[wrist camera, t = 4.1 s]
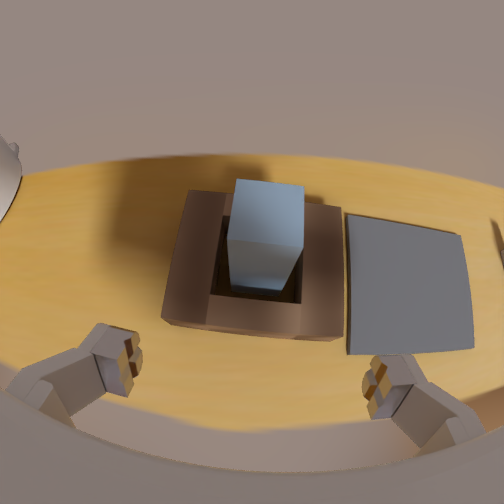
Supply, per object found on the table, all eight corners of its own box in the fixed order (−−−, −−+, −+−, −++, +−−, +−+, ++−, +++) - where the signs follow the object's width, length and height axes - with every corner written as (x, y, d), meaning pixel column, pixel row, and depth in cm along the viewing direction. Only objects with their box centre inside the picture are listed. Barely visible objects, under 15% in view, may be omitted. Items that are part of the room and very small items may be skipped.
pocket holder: (171, 324, 20) (160, 317, 17) (193, 210, 24) (188, 189, 21) (329, 341, 20) (343, 336, 17) (330, 225, 24) (341, 207, 21)
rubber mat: (347, 354, 20) (350, 354, 19) (345, 218, 25) (347, 214, 24) (470, 348, 20) (474, 347, 19) (457, 237, 24) (460, 235, 24)
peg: (231, 291, 21) (226, 239, 13) (237, 248, 23) (236, 178, 15) (278, 296, 21) (303, 247, 13) (281, 253, 23) (304, 186, 15)
